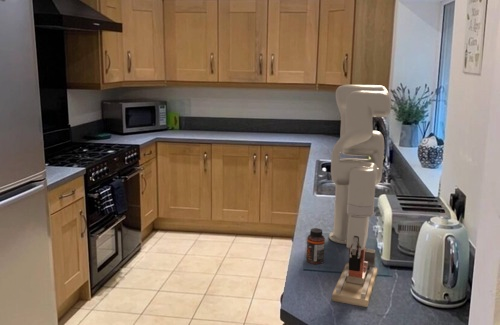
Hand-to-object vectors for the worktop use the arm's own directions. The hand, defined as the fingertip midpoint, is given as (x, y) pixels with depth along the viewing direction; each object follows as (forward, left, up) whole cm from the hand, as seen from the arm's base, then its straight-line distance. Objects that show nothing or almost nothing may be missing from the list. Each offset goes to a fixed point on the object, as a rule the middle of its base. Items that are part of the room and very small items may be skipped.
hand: (356, 264), depth 146 cm
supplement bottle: (-16, -16, -8) cm, 24 cm away
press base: (-2, 0, -8) cm, 8 cm away
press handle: (-2, 0, -5) cm, 6 cm away
